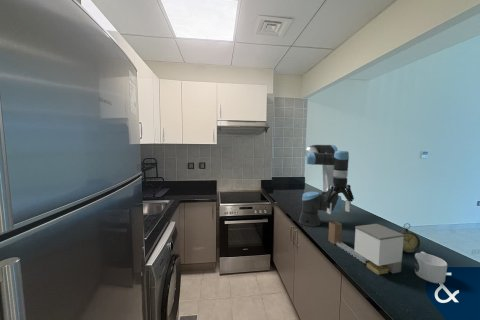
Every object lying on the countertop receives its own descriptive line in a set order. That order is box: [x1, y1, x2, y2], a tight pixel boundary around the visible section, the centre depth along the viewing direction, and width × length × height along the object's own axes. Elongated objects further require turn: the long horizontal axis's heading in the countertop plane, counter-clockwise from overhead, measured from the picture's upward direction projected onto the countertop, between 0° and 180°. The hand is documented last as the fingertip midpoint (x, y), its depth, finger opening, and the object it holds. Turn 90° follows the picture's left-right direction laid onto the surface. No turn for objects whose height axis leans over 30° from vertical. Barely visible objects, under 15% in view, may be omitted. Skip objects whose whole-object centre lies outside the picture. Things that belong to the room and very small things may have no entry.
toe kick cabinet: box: [353, 223, 404, 274], centre depth 96 cm, size 13×14×18 cm
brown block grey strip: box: [327, 220, 371, 265], centre depth 110 cm, size 25×5×12 cm, turn 16°
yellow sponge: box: [366, 261, 389, 276], centre depth 93 cm, size 6×6×2 cm
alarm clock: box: [398, 222, 421, 254], centre depth 109 cm, size 11×5×16 cm, turn 83°
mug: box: [414, 251, 448, 284], centre depth 90 cm, size 13×10×8 cm
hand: (338, 212), depth 118 cm, fingers open, 13 cm apart
